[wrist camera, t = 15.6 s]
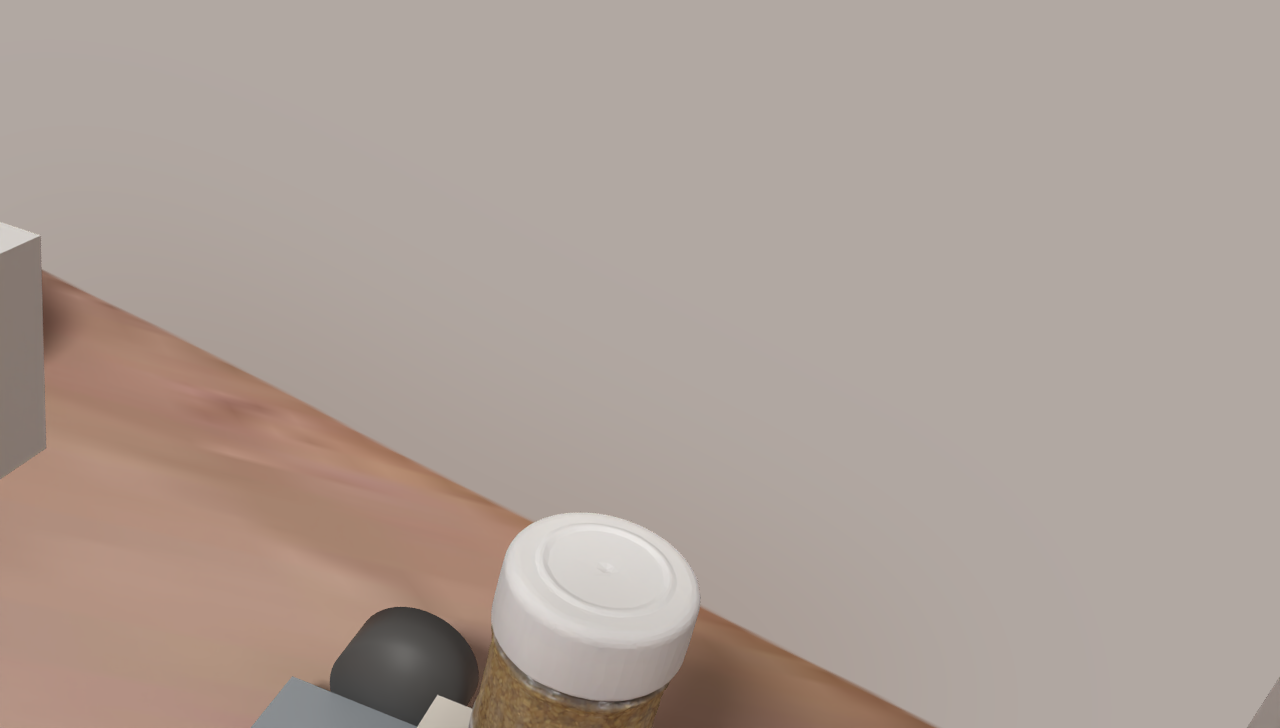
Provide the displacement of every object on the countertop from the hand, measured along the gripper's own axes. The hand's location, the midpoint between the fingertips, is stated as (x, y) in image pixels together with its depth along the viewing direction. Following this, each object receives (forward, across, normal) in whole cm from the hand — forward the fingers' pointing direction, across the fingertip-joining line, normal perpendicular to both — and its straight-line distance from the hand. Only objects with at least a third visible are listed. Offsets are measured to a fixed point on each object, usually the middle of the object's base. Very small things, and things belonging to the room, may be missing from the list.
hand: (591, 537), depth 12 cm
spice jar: (+11, -2, -23) cm, 25 cm away
